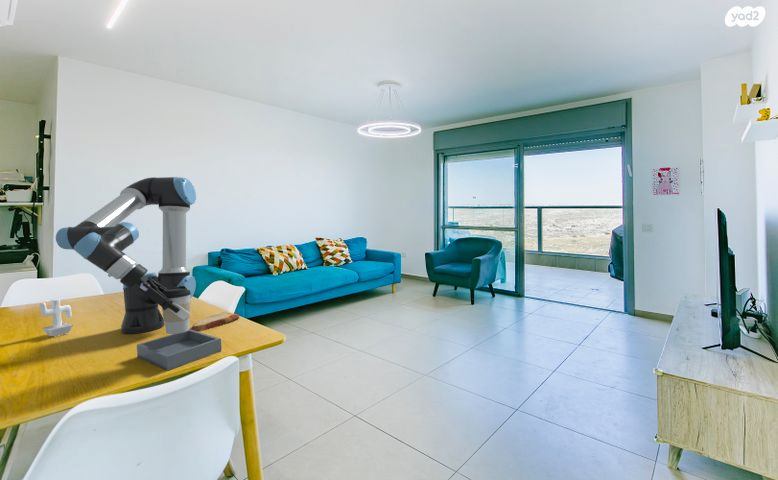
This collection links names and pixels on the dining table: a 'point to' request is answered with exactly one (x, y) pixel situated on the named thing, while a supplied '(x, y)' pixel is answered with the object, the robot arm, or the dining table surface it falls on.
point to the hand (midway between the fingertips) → (187, 313)
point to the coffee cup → (172, 320)
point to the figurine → (56, 317)
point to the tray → (178, 349)
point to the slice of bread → (214, 321)
